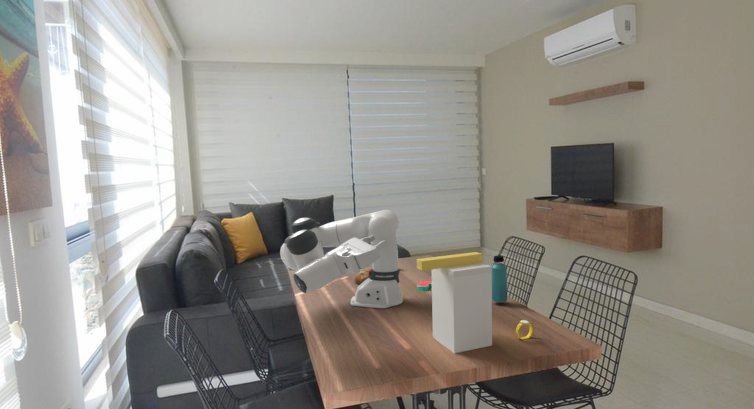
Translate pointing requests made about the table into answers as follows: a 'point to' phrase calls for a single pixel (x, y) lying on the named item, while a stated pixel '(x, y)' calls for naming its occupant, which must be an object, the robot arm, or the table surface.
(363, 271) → the bread roll
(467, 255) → the mustard bar
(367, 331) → the table surface
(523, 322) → the gold ring
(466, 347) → the off-white stand
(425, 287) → the pink curvy flat shape
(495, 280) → the beverage bottle
